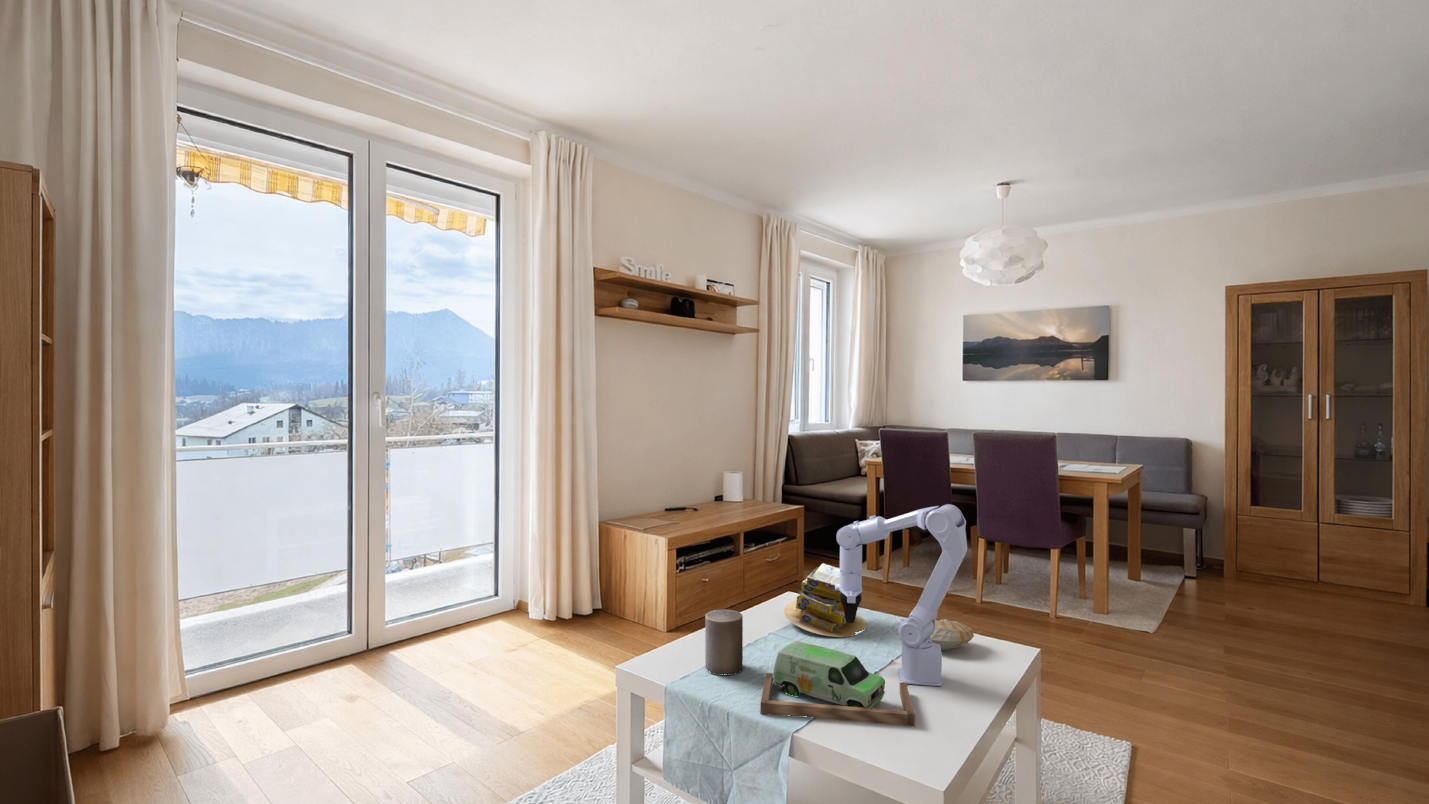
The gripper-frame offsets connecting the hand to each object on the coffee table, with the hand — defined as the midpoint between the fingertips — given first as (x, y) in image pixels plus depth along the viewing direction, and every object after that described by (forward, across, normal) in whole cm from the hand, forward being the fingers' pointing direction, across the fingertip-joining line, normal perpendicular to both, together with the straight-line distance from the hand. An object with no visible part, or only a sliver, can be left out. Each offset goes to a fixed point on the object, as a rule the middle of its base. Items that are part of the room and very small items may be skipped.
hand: (850, 622), depth 183 cm
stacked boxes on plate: (+11, -28, -6) cm, 31 cm away
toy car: (+11, +22, -6) cm, 25 cm away
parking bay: (+10, +25, -4) cm, 27 cm away
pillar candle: (+11, +10, -32) cm, 35 cm away
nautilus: (+11, -16, +23) cm, 30 cm away
